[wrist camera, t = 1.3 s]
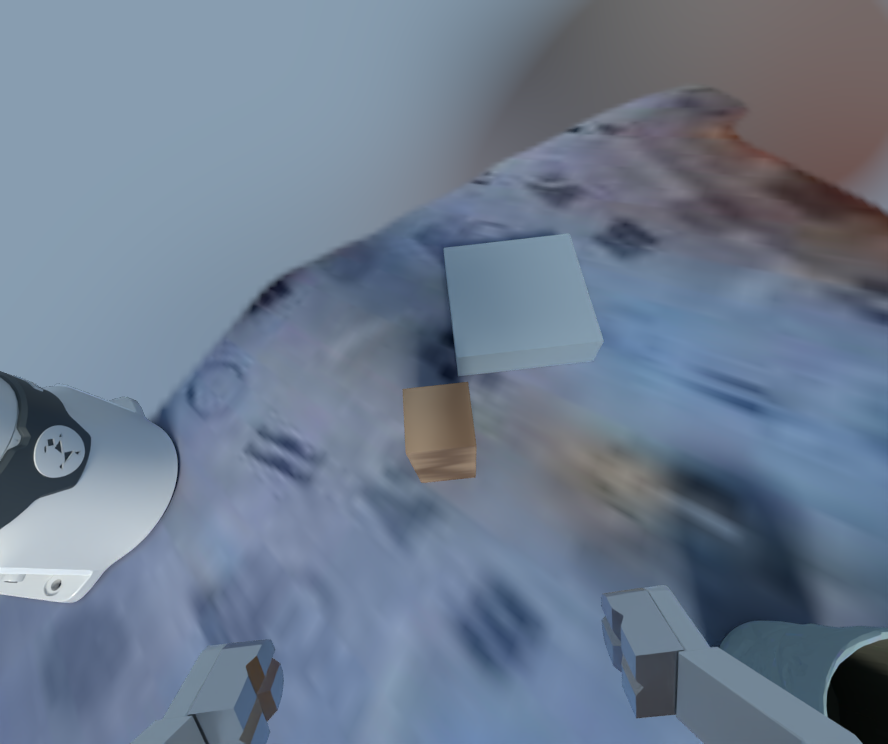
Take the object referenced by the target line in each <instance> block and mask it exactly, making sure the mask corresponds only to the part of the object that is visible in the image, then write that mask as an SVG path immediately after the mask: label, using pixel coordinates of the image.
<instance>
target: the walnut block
mask: <svg viewBox="0 0 888 744" xmlns="http://www.w3.org/2000/svg"><path fill="white" fill-rule="evenodd" d="M403 408H404V428H405V448H406V455H407V456H408V458H409V460H410V462H411V464H412V466H413V468H414V470H415V471H416V473H417V475H418V477H419V479H420V481H421V483H426V482H436V481H445V480H455V479H464V478H473V477H476V439H475V432H474V424H473V417H472V409H471V401H470V394H469V386H468V382H462V383H453V384H444V385H435V386H426V387H417V388H408V389H403Z"/></svg>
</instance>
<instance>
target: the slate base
mask: <svg viewBox="0 0 888 744" xmlns="http://www.w3.org/2000/svg"><path fill="white" fill-rule="evenodd" d="M443 249H444V260H445V272H446V280H447V288H448V297H449V305H450V313H451V322H452V330H453V338H454V347H455V355H456V363H457V372H458V376H465V375H474V374H483V373H492V372H501V371H511V370H520V369H529V368H538V367H547V366H556V365H565V364H574V363H583V362H592V361H593V360H594V358H595V356H596V355H597V353H598V351H599V349H600V347H601V345H602V344H603V342H604V340H603V337H602V334H601V331H600V328H599V325H598V322H597V318H596V315H595V312H594V309H593V306H592V303H591V300H590V296H589V293H588V290H587V287H586V284H585V281H584V278H583V274H582V271H581V268H580V265H579V262H578V259H577V256H576V252H575V249H574V246H573V243H572V240H571V237H570V234H560V235H552V236H543V237H534V238H526V239H517V240H508V241H500V242H491V243H482V244H474V245H465V246H456V247H447V248H443Z"/></svg>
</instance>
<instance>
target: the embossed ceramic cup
mask: <svg viewBox="0 0 888 744" xmlns="http://www.w3.org/2000/svg"><path fill="white" fill-rule="evenodd" d="M720 649H722V650H723V651H725V652H726V653H728V654H729V655H731V656H732V657H734V658H736V659H737V660H739V661H740V662H742V663H743V664H745V665H747V666H748V667H750V668H751V669H753V670H754V671H756V672H757V673H759V674H761V675H762V676H764V677H765V678H767V679H768V680H770V681H772V682H773V683H775V684H776V685H778V686H779V687H781V688H782V689H784V690H786V691H787V692H789V693H790V694H792V695H793V696H795V697H797V698H798V699H800V700H801V701H803V702H804V703H806V704H807V705H809V706H811V707H812V708H814V709H815V710H817V711H818V712H820V713H822V714H823V715H825V716H826V717H828V718H829V719H831V720H832V721H834V722H836V723H837V724H839V725H840V726H842V727H843V728H845V729H847V730H848V731H850V732H851V733H853V734H854V735H856V737H857V738H858V739H859V740H860V741H861V742H862V744H888V628H884V627H866V626H853V627H841V628H836V627H830V626H822V625H817V624H796V623H790V622H780V621H762V620H759V621H750V622H747V623H744V624H742V625H740V626H738V627H736V628H734V629H733V630H732V631H731V632H730V633H729V634H728V635H727V636H726V637H725V638H724V640H723V641H722V643H721V645H720Z"/></svg>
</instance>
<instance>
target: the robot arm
mask: <svg viewBox="0 0 888 744" xmlns="http://www.w3.org/2000/svg"><path fill="white" fill-rule="evenodd" d="M177 472H178V460H177V454H176V450H175V447H174V444H173V442H172V440H171V439H170V437H169V436H168V434H167V433H166V432H165V431H164V430H163V429H162V428H160V427H159V426H157V425H156V424H154V423H152V422H151V421H149V420H148V419H147V418H146V417H145V415H144V413H143V410H142V408H141V406H140V405H139V403H138V402H137V401H136V400H133V399H130V398H128V397H120V398H117V399H113V400H109V401H107V400H105V399H102V398H99V397H97V396H95V395H92V394H89V393H87V392H84V391H81V390H79V389H76V388H73V387H71V386H68V385H64V384H56V385H54V386H49V387H44V388H40V387H38V385H36V384H34V383H33V382H30V381H28V380H25V379H23V378H21V377H17V376H12V375H9V374H7V373H4V372H1V371H0V594H2V595H10V596H17V597H25V598H32V599H39V600H47V601H54V602H63V603H73V602H76V601H78V600H79V599H81V598H82V597H83V596H84V595H85V594H86V593H87V592H88V591H89V590H90V589H91V588H92V586H93V585H94V584H95V583H96V582H97V580H98V579H99V578H100V576H101V575H102V574H103V573H104V571H105V570H106V569H107V568H108V567H109V566H111V565H112V564H113V563H114V562H116V561H117V560H119V559H120V558H121V557H123V556H124V555H126V554H127V553H128V552H130V551H131V550H132V549H133V548H135V547H136V546H137V545H138V544H139V543H140V542H141V541H142V540H143V539H144V538H145V537H146V536H147V535H148V534H149V533H150V532H151V530H152V529H153V528H154V527H155V525H156V524H157V523H158V521H159V520H160V518H161V517H162V515H163V513H164V512H165V510H166V508H167V506H168V504H169V502H170V499H171V497H172V494H173V491H174V488H175V484H176V479H177ZM60 582H61V586H60V588H59V584H60ZM601 607H602V609H603V611H604V613H605V617H604V618H603V620H602V630H603V636H604V640H605V645H606V648H607V651H608V654H609V656H610V659H611V661H612V664H613V666H614V667H615V668H616V669H618V670H619V671H620V672H621V673H622V687H623V689H624V692H625V694H626V696H627V698H628V701H629V703H630V705H631V708H632V710H633V712H634V714H635V717H636V718H646V717H657V716H667V715H676V717H677V718H678V719H679V720H680V721H681V722H682V723H683V724H684V725H685V726H686V727H687V728H688V729H689V730H690V731H691V732H692V733H694V734H695V735H696V736H697V737H698V738H699V739H700V740H701V741H702V742H703V743H704V744H862V742H861V741H860V740H859V739H858V738H857V737H856V735H854V734H853V733H851V732H850V731H848V730H847V729H845V728H843V727H842V726H840V725H839V724H837V723H836V722H834V721H832V720H831V719H829V718H828V717H826V716H825V715H823V714H822V713H820V712H818V711H817V710H815V709H814V708H812V707H811V706H809V705H807V704H806V703H804V702H803V701H801V700H800V699H798V698H797V697H795V696H793V695H792V694H790V693H789V692H787V691H786V690H784V689H782V688H781V687H779V686H778V685H776V684H775V683H773V682H772V681H770V680H768V679H767V678H765V677H764V676H762V675H761V674H759V673H757V672H756V671H754V670H753V669H751V668H750V667H748V666H747V665H745V664H743V663H742V662H740V661H739V660H737V659H736V658H734V657H732V656H731V655H729V654H728V653H726V652H725V651H723V650H722V649H720V648H718V647H710V646H709V645H708V643H707V642H706V640H705V639H704V637H703V636H702V634H701V633H700V632H699V630H698V629H697V627H696V626H695V624H694V623H693V622H692V620H691V619H690V617H689V616H688V614H687V613H686V612H685V610H684V609H683V607H682V606H681V604H680V603H679V602H678V600H677V599H676V597H675V596H674V594H673V593H672V592H671V590H670V589H669V588H668V587H667V586H665V585H661V586H654V587H646V588H638V589H631V590H624V591H617V592H611V593H604V594H602V596H601ZM274 652H275V648H274V645H273V643H272V641H271V640H267V639H266V640H256V641H247V642H237V643H228V644H221V645H212V646H207V647H206V648H205V649H204V650H203V651H202V652H201V653H200V655H199V657H198V658H197V660H196V662H195V664H194V665H193V667H192V669H191V670H190V672H189V674H188V676H187V677H186V679H185V681H184V682H183V684H182V686H181V688H180V689H179V691H178V693H177V695H176V696H175V698H174V700H173V701H172V703H171V705H170V707H169V708H168V710H167V712H166V714H165V715H164V717H163V719H161V720H155V721H154V722H153V723H152V724H151V725H150V726H149V727H148V728H147V729H145V730H144V731H143V732H142V733H141V734H140V735H139V736H138V737H137V738H135V739H134V740H133V741H132V742H131V743H130V744H266V742H267V740H268V737H269V734H270V730H269V726H268V723H267V721H268V720H269V719H270V718H271V717H272V716H273V715H274V713H275V712H276V711H277V710H278V707H279V704H280V701H281V698H282V692H283V684H284V678H283V670H282V667H281V664H280V663H279V662H278V661H276V660H275V659H273V658H272V657H273V654H274Z"/></svg>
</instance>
